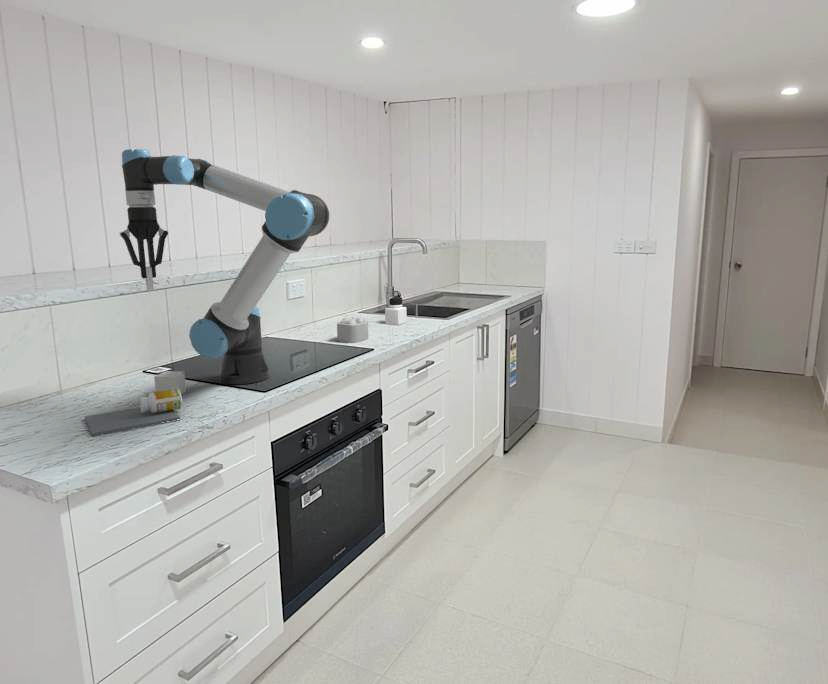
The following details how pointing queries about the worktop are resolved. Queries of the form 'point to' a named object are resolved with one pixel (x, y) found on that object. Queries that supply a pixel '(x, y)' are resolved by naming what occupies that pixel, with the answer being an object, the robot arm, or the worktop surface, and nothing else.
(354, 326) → the lumpy-topped squat cylinder
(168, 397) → the supplement bottle
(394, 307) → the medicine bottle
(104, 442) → the worktop surface
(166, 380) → the grey cube
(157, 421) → the rubber mat
